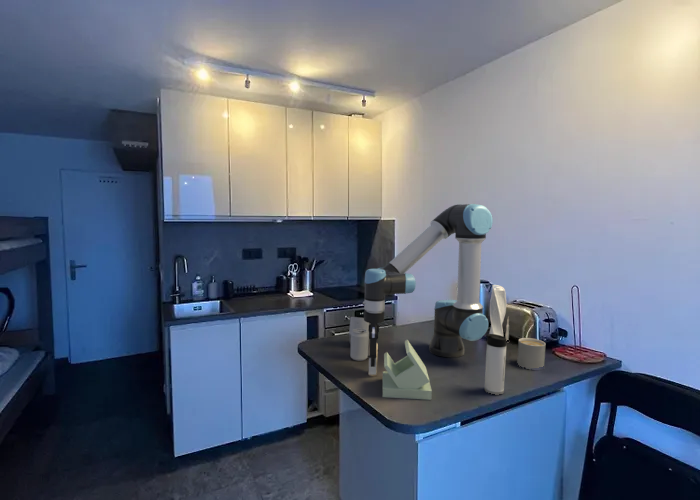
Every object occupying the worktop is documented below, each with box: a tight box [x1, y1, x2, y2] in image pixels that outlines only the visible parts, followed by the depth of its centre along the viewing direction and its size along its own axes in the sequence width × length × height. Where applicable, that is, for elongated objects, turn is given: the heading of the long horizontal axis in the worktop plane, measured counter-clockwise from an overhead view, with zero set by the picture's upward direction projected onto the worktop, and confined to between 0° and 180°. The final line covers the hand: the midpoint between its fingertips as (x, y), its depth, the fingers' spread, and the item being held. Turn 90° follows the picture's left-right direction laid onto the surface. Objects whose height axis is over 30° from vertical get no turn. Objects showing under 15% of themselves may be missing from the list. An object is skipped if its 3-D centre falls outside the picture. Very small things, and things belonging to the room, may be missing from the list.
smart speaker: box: [348, 316, 370, 345], centre depth 181 cm, size 10×9×14 cm
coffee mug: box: [516, 337, 546, 368], centre depth 161 cm, size 13×10×10 cm
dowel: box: [367, 342, 379, 377], centre depth 148 cm, size 3×3×12 cm
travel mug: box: [484, 333, 507, 396], centre depth 136 cm, size 6×7×20 cm
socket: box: [382, 339, 433, 401], centre depth 136 cm, size 16×14×16 cm
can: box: [349, 329, 370, 362], centre depth 165 cm, size 8×8×12 cm
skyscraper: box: [488, 284, 510, 340], centre depth 191 cm, size 8×8×28 cm
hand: (372, 371), depth 149 cm, fingers open, 4 cm apart
